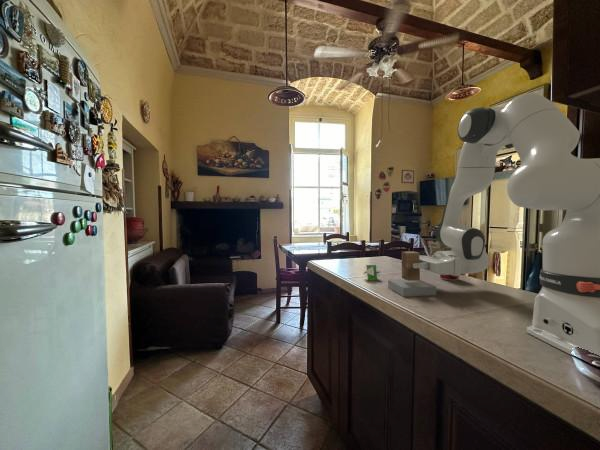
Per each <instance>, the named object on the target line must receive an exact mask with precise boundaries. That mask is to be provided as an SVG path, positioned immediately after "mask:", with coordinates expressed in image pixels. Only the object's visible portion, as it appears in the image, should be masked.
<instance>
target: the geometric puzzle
mask: <svg viewBox="0 0 600 450" xmlns="http://www.w3.org/2000/svg"><path fill="white" fill-rule="evenodd" d="M365 267H366V270H365V269H364V272H363V274H364V276H365V277H366V280H367V281H378V280H379V277H378V276H379V275H380V274H381V272H382V271H381V270H380V271H379V270H378V267H377V265H376V264H366V265H365Z"/></svg>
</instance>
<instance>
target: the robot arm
mask: <svg viewBox="0 0 600 450" xmlns="http://www.w3.org/2000/svg"><path fill="white" fill-rule="evenodd" d="M457 136H458V138H459V140H461V142H463V145H462V147H461V150H460V153H459V157H458V162H457V169H456V175H455V178H454V181H453V183H452V185H451V186H450V187H449V191H448V192H447V195H446V196H447V197H446V201H445V206H444V209H443V214H442V218H441V221H440V223H439V225H438V227H437V229H436V232H435V237H436V240H437V242H438V243H439V244H440V245H441V246H443V247H447V248H451V249H450V250H439V251H435V252H434V253H433V254H432V255H431V256H429V255H421V254H419V258H420V263H412V264H411V265H412V266H411V267H412V268H420V270H425V271H428V272H431V273H434V274H437V275H439V276H440V275H452V276H459V277H460V275H461V274H462V275H466V274H467V275H470V274H477V273H481V272H482V271H485V270H486V269H488V267H489V266H490V256H489V254H488V253H487V252H486V249H485V244H486V238H485V237H486V236H485V235H484V234H485V233H483V232H482V230H480V229H478V228H475V227H471V226H467V225H463V224H461V222H460V219H461V215H462V212H463V207H464V205H465V202H466V201H467V200H468V199H469V198H470V197H472V196H475V195H477V194H480V193H482V192H483V191H486V190H487V189H488V188H489V187H490V186H491V185H492V182H493V180H494V176H495V172H496V163H497V161H496V160H497V154H498V153H499V151H500V149H501V148H503V147H505V148H506V149H507V150H508V149H510V150H511V149H512V148H514V150H515V151H516V154H517V155H518V157H519V160H520V166H518V167H517V168H516V169H515V170H514V171H513V172H512V173H511V175H510V177H509V179H508V182H507V185H506V191H507V195H508V197H509V200H511V202H512V203H513V205H515V206H516V207H520V208H524V209H525V208H526V209H531V210H538V211H566V214H565V216H564V218H563V220H562V222H561V223H560V224H559V225H558V226H557V227H555V228H553V229H551V230H550V231H548V232H546V233H545V235H544V236H543V238H542V243H541V244H542V268H541V269H540V270H539V271H540V272H539V273H540V274H539V284H540V285H541V289H540V290H539V292H538V294H537V295H536V296H535V298H534V305H533V313H532V314H533V315H532V323H531V325H530V326H527V327H526V333H528V334H529V335H531V336H532V337H535V338H537V339H539V340H541V341H542V342H544V343H547V344H549V345H551V346H553V347H555V348H557V349H559V350H560V351H563V352H565V353H566V354H568V355H571V352H572V351H573V349H572V348H573V347H579V348H582V349H585V350H588V351H589V352H591V353H594V354H597V355H599V356H600V157H599V158H595V157H594V158H581V157H578V156H575V155H573V154H572V152H573V151H574V149H576V147H577V145H578V143H579V140H580V138H581V137H580V136H581V133H580V131H579V130H578V129H577V127H576V126H575V125H574V124H573V122H572V121H571V120H570V118H568V117H567V115H566V114H565V113H564V112H563V111H562V110H561V109H560V108H559V107H558V106H557V105H556V104H555V103H554V102H552V101H551V100H550V99H548V98H546V96H543V95H542V94H539V93H535V92H528V93H523V94H521V95H518V96H516V97H514V98H513V99H512V100H511V101H509V102H508V103H507V104H506V105H505V106H492V107H491V106H490V107H484V106H481V107H475V108H473V109H472V108H471V109H469V110H467V111H466V112H465V113H464V114H463V115H462V116H461V118H460V119H459V122H458V126H457ZM571 356H572V355H571Z"/></svg>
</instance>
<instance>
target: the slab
mask: <svg viewBox="0 0 600 450" xmlns="http://www.w3.org/2000/svg"><path fill="white" fill-rule="evenodd" d="M387 282H388V284H387V286H388V287H387V288H388V289H390V290H392V291H393V292H395V293H397V294H398V295H400V296H402V297H423V296H437V286H436V285H434V284H431V283H429V282H426V281H424V280H421V279H420V280H412V281H408V280H405V279H403V278H400V279H388V281H387Z"/></svg>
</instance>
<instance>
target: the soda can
mask: <svg viewBox="0 0 600 450" xmlns="http://www.w3.org/2000/svg"><path fill="white" fill-rule="evenodd" d="M439 278H440V279H441V280H443V281H450V282H451V281H453V282H455V281H458V280H460V276H452V275H439Z"/></svg>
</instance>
